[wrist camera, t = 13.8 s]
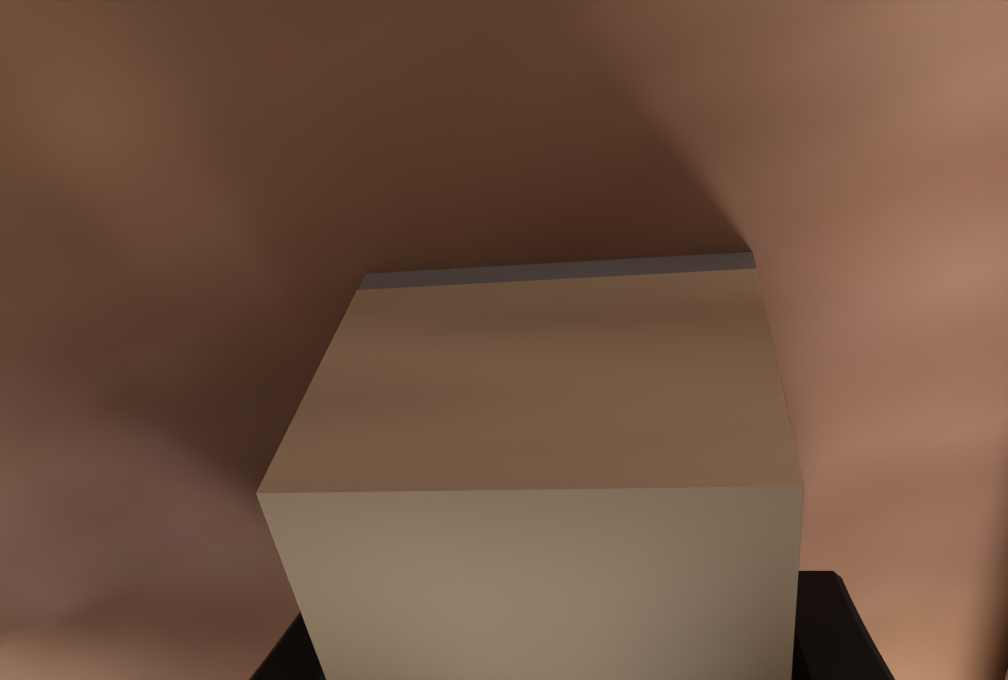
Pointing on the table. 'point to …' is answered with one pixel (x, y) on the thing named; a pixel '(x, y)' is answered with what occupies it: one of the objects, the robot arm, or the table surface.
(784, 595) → the block
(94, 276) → the table surface
